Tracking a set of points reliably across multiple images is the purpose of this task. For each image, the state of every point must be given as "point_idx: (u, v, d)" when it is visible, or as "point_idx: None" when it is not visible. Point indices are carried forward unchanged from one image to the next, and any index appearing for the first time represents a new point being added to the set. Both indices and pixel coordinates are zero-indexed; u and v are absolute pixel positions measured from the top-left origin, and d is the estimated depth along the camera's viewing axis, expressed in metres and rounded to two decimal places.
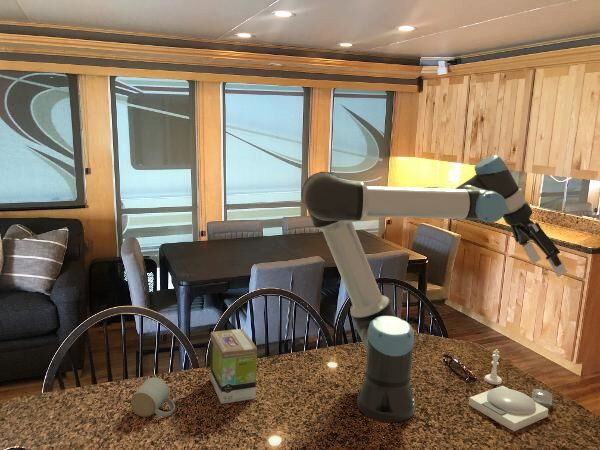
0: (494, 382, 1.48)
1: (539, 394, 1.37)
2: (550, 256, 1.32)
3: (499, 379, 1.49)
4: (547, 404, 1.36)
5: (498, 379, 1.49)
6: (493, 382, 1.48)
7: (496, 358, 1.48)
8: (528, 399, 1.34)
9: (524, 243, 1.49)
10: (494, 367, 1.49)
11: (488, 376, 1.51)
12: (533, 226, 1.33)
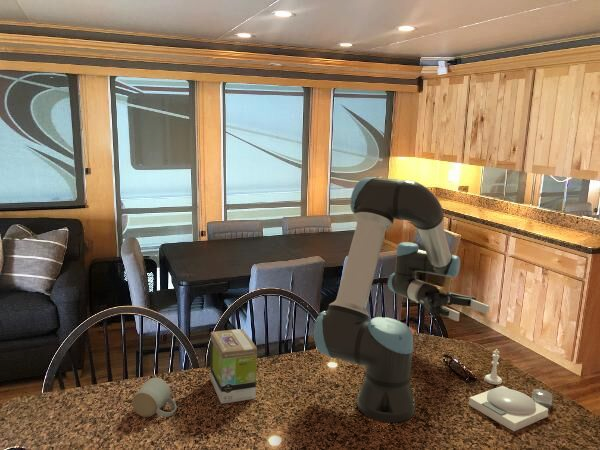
0: (494, 382, 1.48)
1: (539, 394, 1.37)
2: (474, 297, 1.66)
3: (499, 379, 1.49)
4: (547, 404, 1.36)
5: (498, 379, 1.49)
6: (493, 382, 1.48)
7: (496, 358, 1.48)
8: (528, 399, 1.34)
9: None
10: (494, 367, 1.49)
11: (488, 376, 1.51)
12: None
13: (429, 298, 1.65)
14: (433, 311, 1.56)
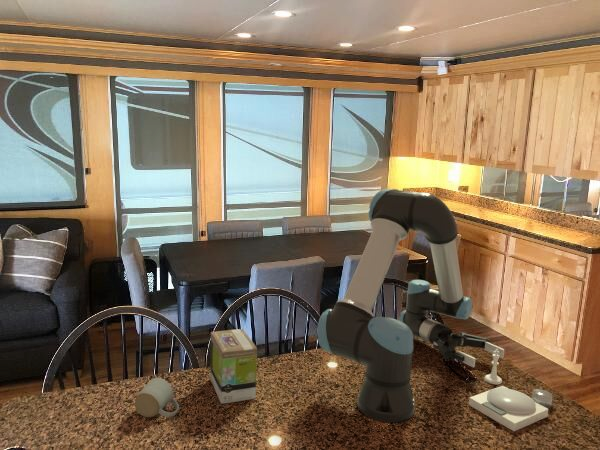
0: (494, 382, 1.48)
1: (539, 394, 1.37)
2: None
3: (499, 379, 1.49)
4: (547, 404, 1.36)
5: (498, 379, 1.49)
6: (493, 382, 1.48)
7: (496, 358, 1.48)
8: (528, 399, 1.34)
9: None
10: (494, 367, 1.49)
11: (488, 376, 1.51)
12: None
13: (442, 340, 1.62)
14: (448, 356, 1.53)
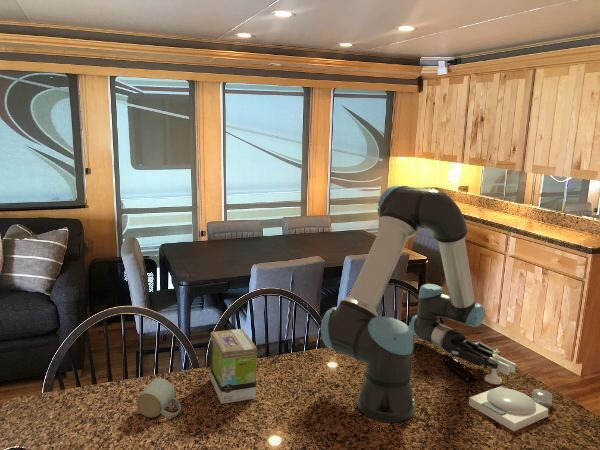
0: (494, 382, 1.48)
1: (539, 394, 1.37)
2: None
3: (499, 379, 1.49)
4: (547, 404, 1.36)
5: (498, 379, 1.49)
6: (493, 382, 1.48)
7: (496, 358, 1.48)
8: (528, 399, 1.34)
9: None
10: None
11: (488, 376, 1.51)
12: None
13: (458, 347, 1.57)
14: (481, 362, 1.49)
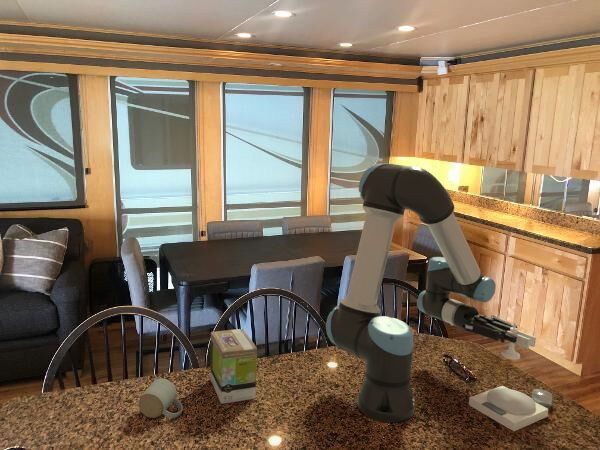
0: (512, 357, 1.38)
1: (539, 394, 1.37)
2: (515, 326, 1.43)
3: (517, 354, 1.39)
4: (547, 404, 1.36)
5: (516, 354, 1.39)
6: (511, 357, 1.38)
7: (514, 331, 1.38)
8: (528, 399, 1.34)
9: None
10: None
11: (505, 351, 1.40)
12: None
13: (471, 321, 1.46)
14: (498, 336, 1.38)
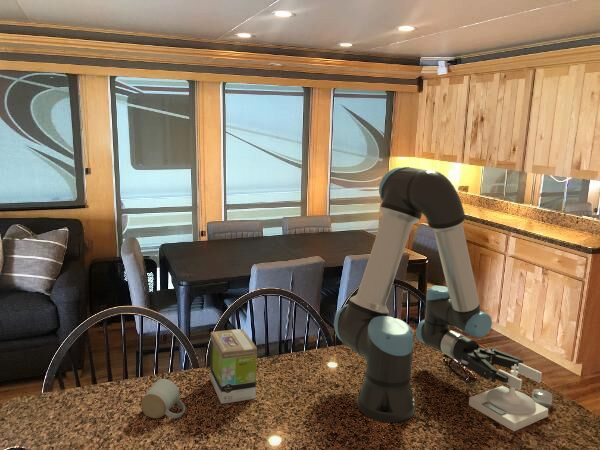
0: (512, 402, 1.31)
1: (539, 394, 1.37)
2: (521, 359, 1.38)
3: (518, 398, 1.32)
4: (547, 404, 1.36)
5: (517, 398, 1.32)
6: (511, 402, 1.32)
7: (515, 375, 1.32)
8: (528, 399, 1.34)
9: None
10: None
11: (505, 395, 1.34)
12: None
13: (470, 356, 1.40)
14: (489, 376, 1.31)
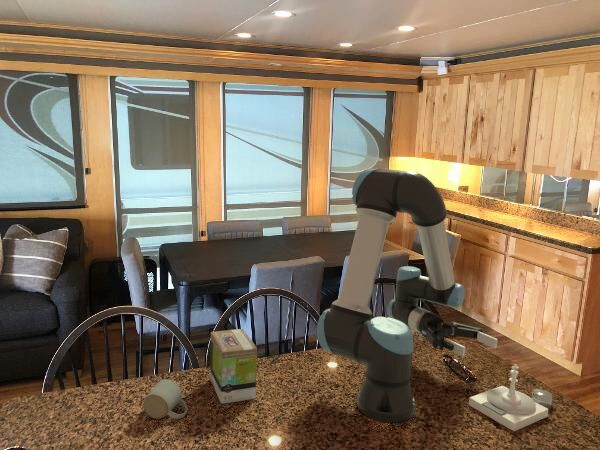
0: (512, 402, 1.31)
1: (539, 394, 1.37)
2: None
3: (518, 398, 1.32)
4: (547, 404, 1.36)
5: (517, 398, 1.32)
6: (511, 402, 1.32)
7: (515, 375, 1.32)
8: (528, 399, 1.34)
9: None
10: (512, 385, 1.33)
11: (505, 395, 1.34)
12: None
13: (432, 329, 1.52)
14: (436, 344, 1.42)
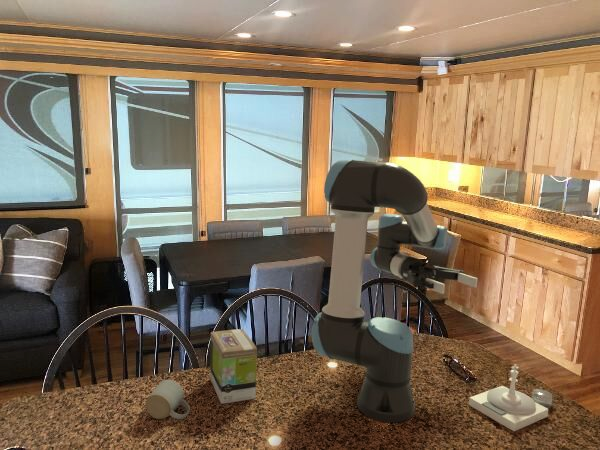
0: (512, 402, 1.31)
1: (539, 394, 1.37)
2: None
3: (518, 398, 1.32)
4: (547, 404, 1.36)
5: (517, 398, 1.32)
6: (511, 402, 1.32)
7: (515, 375, 1.32)
8: (528, 399, 1.34)
9: None
10: (512, 385, 1.33)
11: (505, 395, 1.34)
12: None
13: (413, 271, 1.52)
14: (417, 284, 1.43)
